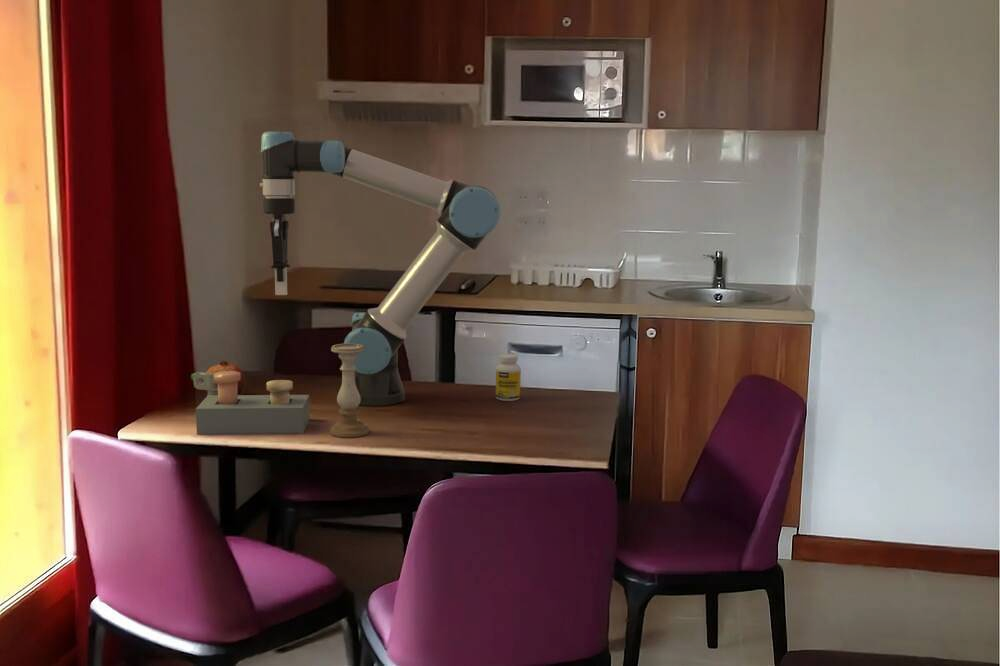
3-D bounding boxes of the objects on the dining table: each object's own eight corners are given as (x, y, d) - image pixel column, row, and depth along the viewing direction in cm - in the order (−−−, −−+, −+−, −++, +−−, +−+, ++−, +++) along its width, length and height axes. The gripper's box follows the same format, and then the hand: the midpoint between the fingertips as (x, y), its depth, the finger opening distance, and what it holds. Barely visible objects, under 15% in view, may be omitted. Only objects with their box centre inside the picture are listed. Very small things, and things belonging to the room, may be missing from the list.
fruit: (250, 399, 266) (249, 362, 264) (213, 404, 260) (211, 366, 258) (236, 391, 274) (235, 355, 273) (199, 396, 269) (198, 359, 267)
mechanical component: (229, 416, 249) (228, 376, 247) (191, 413, 251) (189, 373, 249) (235, 413, 252) (233, 373, 250) (197, 410, 254) (195, 371, 252)
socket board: (309, 418, 247) (309, 394, 246) (303, 433, 234) (302, 407, 233) (208, 419, 245) (207, 395, 244) (196, 434, 232) (195, 408, 231)
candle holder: (371, 436, 232) (370, 348, 229) (332, 439, 230) (331, 350, 226) (365, 426, 240) (364, 342, 237) (327, 429, 238) (326, 343, 234)
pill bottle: (491, 400, 268) (492, 356, 266) (501, 395, 274) (501, 352, 272) (514, 402, 265) (515, 358, 263) (523, 397, 271) (524, 354, 269)
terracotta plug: (243, 410, 242) (242, 370, 240) (239, 416, 236) (237, 376, 234) (218, 410, 241) (216, 371, 240) (212, 416, 235) (211, 376, 234)
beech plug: (295, 418, 243) (294, 379, 241) (291, 425, 237) (290, 385, 236) (269, 418, 243) (268, 379, 241) (265, 425, 237) (264, 385, 235)
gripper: (266, 195, 251) (269, 291, 255) (258, 198, 238) (261, 298, 242) (297, 196, 251) (300, 291, 255) (291, 198, 239) (293, 298, 243)
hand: (281, 294), depth 249 cm, fingers closed
